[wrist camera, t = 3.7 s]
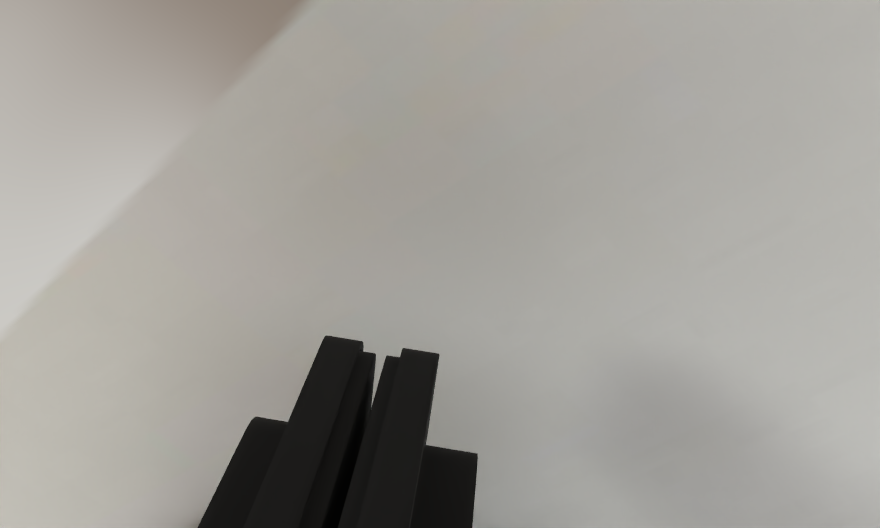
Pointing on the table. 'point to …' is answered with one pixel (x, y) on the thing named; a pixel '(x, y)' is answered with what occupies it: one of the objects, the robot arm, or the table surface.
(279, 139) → the table surface
